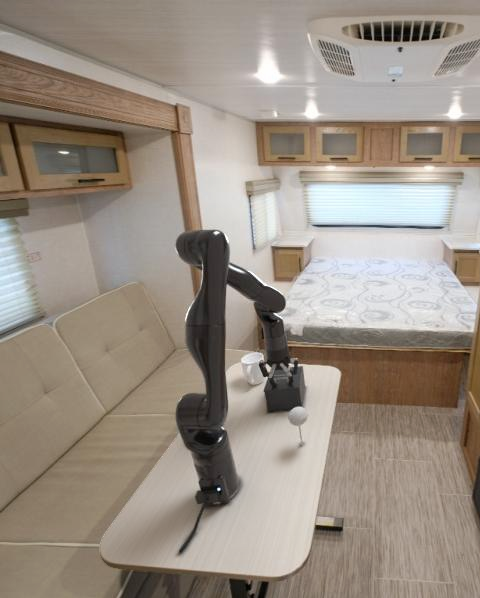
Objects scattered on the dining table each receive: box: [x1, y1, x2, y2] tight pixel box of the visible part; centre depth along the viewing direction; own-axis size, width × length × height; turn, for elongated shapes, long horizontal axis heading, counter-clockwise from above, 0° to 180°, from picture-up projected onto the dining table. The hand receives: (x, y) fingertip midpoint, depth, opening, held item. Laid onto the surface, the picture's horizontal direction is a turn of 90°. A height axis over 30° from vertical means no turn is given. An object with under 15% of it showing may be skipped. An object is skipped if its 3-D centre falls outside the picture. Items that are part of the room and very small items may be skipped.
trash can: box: [263, 369, 306, 413], centre depth 134 cm, size 14×13×10 cm
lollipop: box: [287, 407, 309, 446], centre depth 112 cm, size 6×6×15 cm
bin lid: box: [262, 365, 304, 393], centre depth 131 cm, size 14×13×5 cm
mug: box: [240, 351, 265, 386], centre depth 144 cm, size 12×9×12 cm
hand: (282, 383), depth 127 cm, fingers closed on bin lid, 5 cm apart
